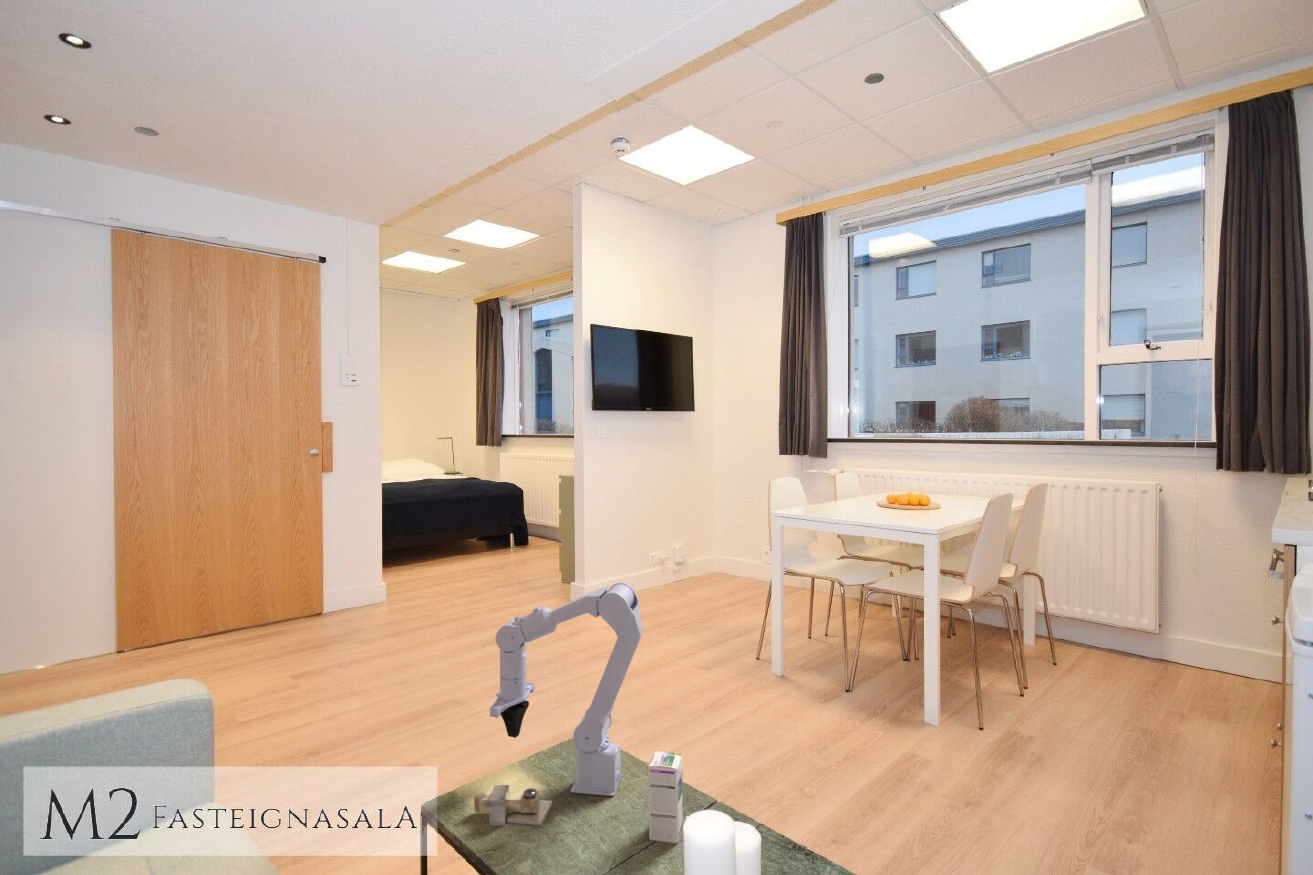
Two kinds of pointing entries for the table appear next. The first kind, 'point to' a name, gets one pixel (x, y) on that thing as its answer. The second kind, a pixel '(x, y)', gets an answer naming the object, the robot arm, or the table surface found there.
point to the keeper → (498, 805)
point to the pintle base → (531, 817)
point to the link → (509, 802)
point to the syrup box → (665, 797)
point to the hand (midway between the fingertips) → (513, 735)
